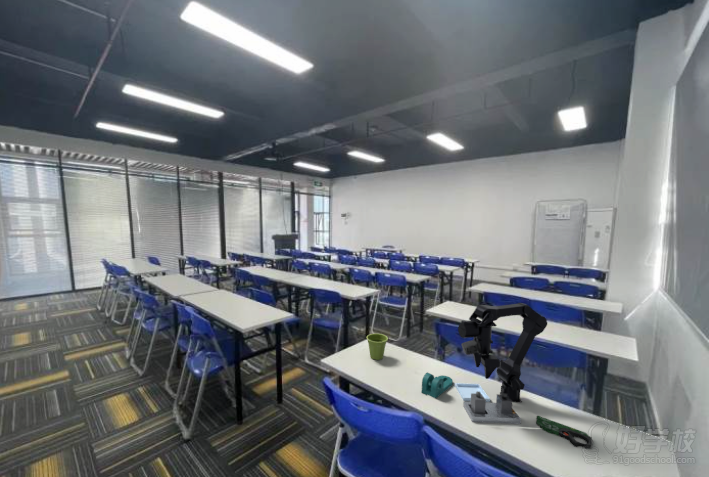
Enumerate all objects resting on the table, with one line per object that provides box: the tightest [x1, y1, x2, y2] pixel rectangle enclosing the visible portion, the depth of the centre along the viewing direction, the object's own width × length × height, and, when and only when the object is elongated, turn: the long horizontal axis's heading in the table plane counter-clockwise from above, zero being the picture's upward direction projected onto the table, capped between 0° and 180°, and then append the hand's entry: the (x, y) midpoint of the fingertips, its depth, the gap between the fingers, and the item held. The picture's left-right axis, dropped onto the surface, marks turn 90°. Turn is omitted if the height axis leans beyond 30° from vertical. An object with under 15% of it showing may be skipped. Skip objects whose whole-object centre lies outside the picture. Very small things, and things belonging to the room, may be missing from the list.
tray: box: [453, 382, 491, 403], centre depth 123 cm, size 11×11×2 cm
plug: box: [470, 391, 486, 414], centre depth 109 cm, size 4×4×9 cm
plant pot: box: [366, 333, 389, 361], centre depth 156 cm, size 12×12×11 cm
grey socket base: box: [462, 392, 522, 425], centre depth 109 cm, size 18×9×9 cm, turn 89°
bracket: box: [421, 372, 454, 399], centre depth 127 cm, size 18×7×8 cm, turn 134°
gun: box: [535, 415, 593, 450], centre depth 101 cm, size 16×2×10 cm
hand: (482, 372), depth 118 cm, fingers open, 9 cm apart
